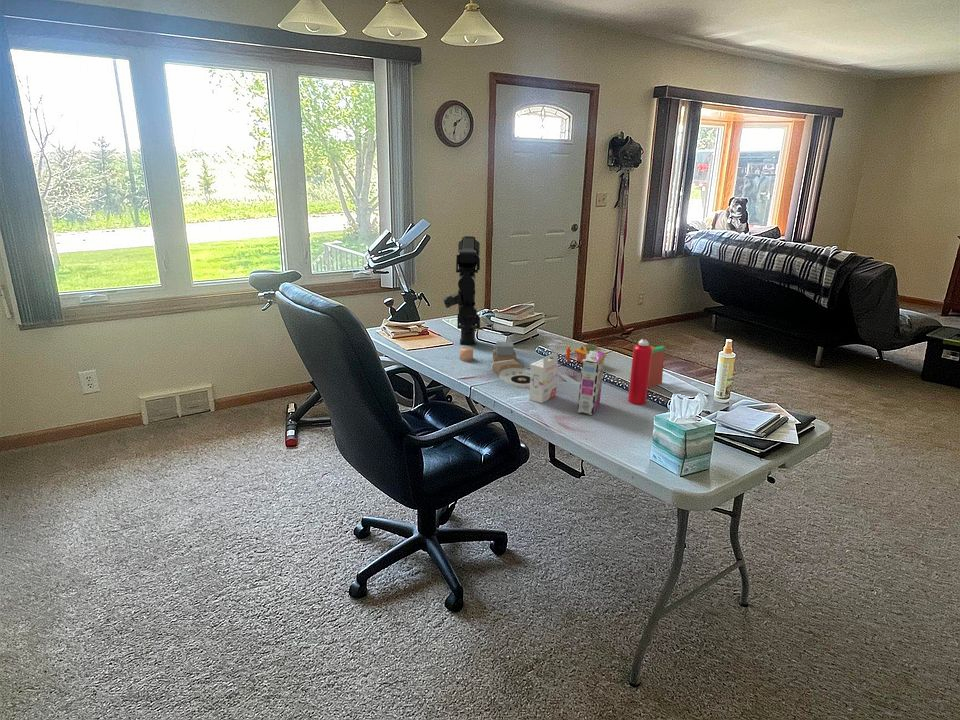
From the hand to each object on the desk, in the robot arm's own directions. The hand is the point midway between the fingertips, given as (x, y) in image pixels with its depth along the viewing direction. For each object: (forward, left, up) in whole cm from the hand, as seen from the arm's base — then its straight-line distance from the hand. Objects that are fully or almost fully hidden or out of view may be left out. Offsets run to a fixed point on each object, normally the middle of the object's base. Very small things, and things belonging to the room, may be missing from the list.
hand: (466, 329), depth 210 cm
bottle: (+40, +52, -12) cm, 67 cm away
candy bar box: (+45, +36, -12) cm, 59 cm away
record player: (+19, +17, -12) cm, 28 cm away
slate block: (+2, +14, -8) cm, 16 cm away
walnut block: (+2, +14, -12) cm, 18 cm away
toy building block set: (+14, +50, -12) cm, 53 cm away
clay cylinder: (0, 0, -12) cm, 12 cm away
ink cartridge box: (+37, +23, -12) cm, 45 cm away
